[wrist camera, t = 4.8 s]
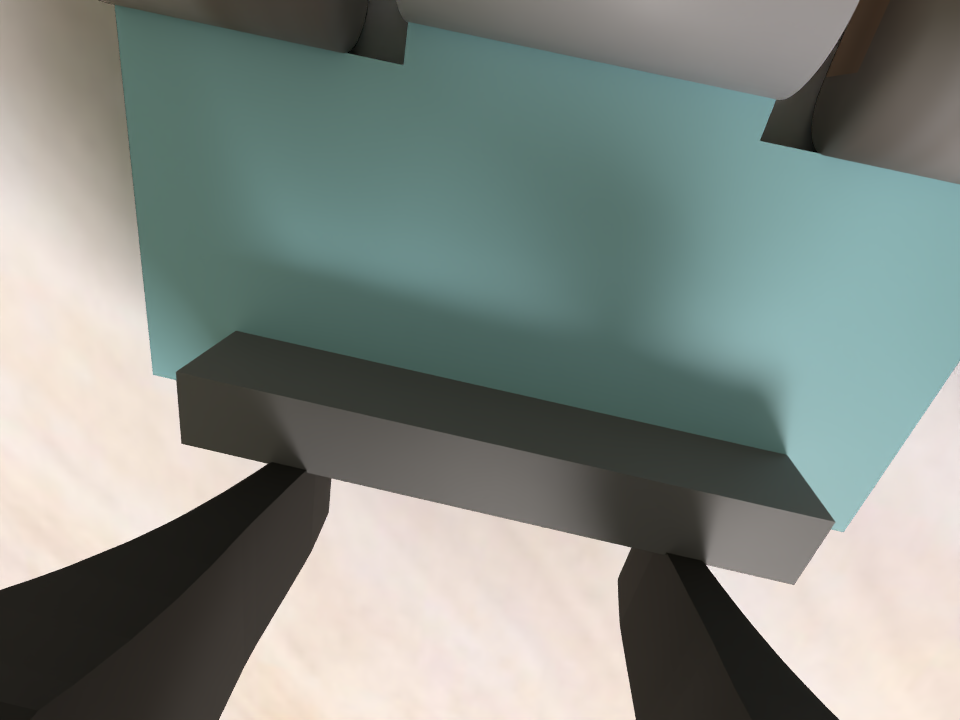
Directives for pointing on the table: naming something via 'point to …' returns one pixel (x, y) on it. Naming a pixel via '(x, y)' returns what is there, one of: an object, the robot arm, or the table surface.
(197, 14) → the fixed leaf
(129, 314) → the table surface
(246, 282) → the teal hinge plate
